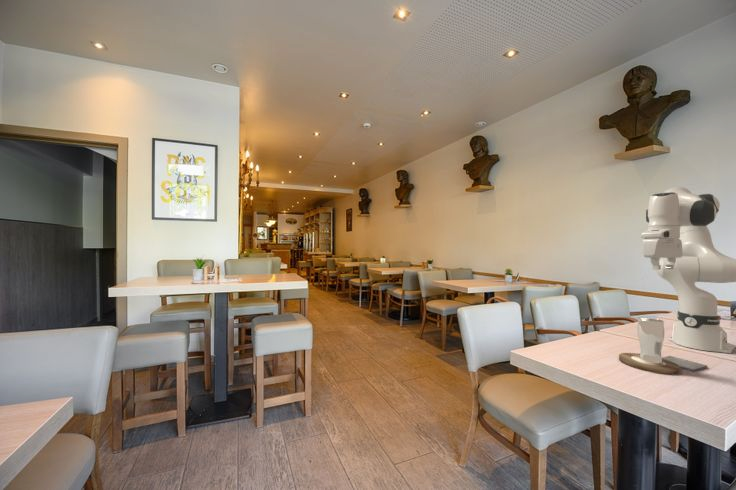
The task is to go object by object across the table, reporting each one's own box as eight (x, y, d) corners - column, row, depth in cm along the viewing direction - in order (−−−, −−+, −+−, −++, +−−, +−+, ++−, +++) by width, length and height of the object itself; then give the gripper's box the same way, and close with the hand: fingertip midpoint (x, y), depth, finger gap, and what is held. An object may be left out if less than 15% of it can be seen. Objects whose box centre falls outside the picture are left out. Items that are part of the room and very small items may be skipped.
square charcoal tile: (669, 357, 112) (669, 355, 112) (707, 367, 103) (707, 365, 103) (655, 361, 109) (655, 359, 109) (692, 371, 99) (692, 369, 99)
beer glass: (670, 365, 100) (670, 322, 101) (647, 364, 101) (647, 321, 102) (653, 358, 107) (653, 317, 108) (632, 357, 108) (632, 316, 109)
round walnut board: (633, 354, 116) (633, 350, 116) (690, 370, 101) (690, 365, 101) (609, 359, 110) (609, 355, 110) (665, 377, 95) (665, 372, 95)
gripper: (667, 235, 120) (667, 268, 120) (638, 233, 112) (638, 269, 112) (688, 234, 114) (688, 269, 114) (659, 232, 106) (659, 270, 106)
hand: (663, 269), depth 113 cm, fingers open, 8 cm apart
